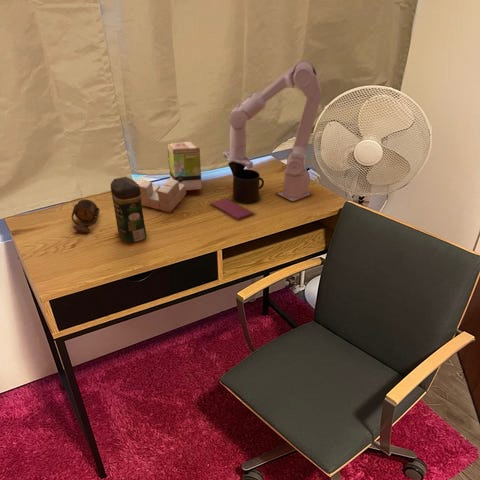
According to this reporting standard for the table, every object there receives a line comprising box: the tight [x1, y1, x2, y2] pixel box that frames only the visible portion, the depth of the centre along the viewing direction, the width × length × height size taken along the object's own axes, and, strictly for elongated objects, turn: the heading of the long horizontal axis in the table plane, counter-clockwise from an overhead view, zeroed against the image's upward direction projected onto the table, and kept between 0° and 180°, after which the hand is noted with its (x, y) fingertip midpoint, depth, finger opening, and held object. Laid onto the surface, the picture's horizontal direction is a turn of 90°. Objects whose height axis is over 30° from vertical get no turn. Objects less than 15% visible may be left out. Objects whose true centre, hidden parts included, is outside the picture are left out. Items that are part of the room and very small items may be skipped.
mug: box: [232, 168, 265, 205], centre depth 172 cm, size 9×12×9 cm
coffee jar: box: [110, 176, 147, 244], centre depth 145 cm, size 10×8×19 cm
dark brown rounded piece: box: [71, 198, 101, 234], centre depth 155 cm, size 7×13×10 cm
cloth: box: [210, 198, 255, 221], centre depth 167 cm, size 7×15×1 cm, turn 40°
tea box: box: [167, 141, 203, 191], centre depth 176 cm, size 15×10×15 cm, turn 15°
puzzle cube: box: [137, 178, 187, 213], centre depth 167 cm, size 12×12×8 cm
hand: (237, 181), depth 176 cm, fingers closed
